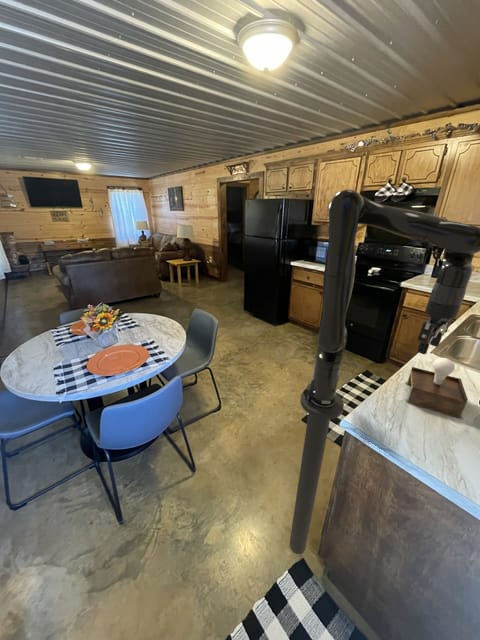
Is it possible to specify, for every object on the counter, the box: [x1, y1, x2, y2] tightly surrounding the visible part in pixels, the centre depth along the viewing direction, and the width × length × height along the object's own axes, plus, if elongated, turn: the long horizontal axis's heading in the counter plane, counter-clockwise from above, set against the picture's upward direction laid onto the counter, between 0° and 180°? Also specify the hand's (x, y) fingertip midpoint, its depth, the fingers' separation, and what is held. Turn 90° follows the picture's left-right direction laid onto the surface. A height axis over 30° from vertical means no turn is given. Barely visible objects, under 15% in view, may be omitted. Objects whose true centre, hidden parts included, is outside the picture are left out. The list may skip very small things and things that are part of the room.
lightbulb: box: [432, 357, 455, 385], centre depth 97 cm, size 6×6×11 cm
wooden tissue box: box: [406, 366, 469, 419], centre depth 100 cm, size 16×14×8 cm
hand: (427, 349), depth 81 cm, fingers open, 8 cm apart
